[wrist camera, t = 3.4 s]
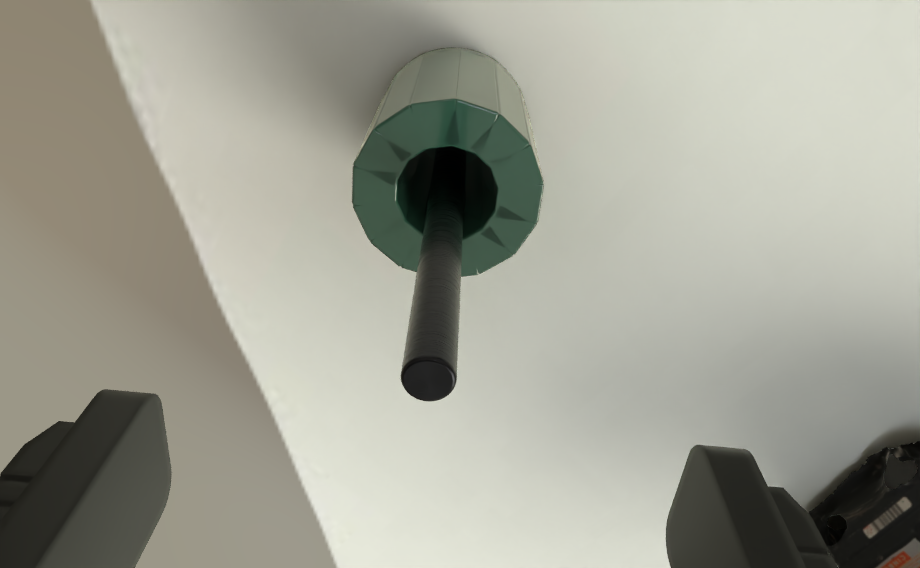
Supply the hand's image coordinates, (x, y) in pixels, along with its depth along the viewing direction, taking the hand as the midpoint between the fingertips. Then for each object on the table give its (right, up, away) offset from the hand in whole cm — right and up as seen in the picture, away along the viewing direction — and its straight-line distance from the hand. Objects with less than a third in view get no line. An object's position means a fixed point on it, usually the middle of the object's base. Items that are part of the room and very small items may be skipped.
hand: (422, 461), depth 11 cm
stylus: (0, +8, +15) cm, 17 cm away
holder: (0, +9, +15) cm, 18 cm away
